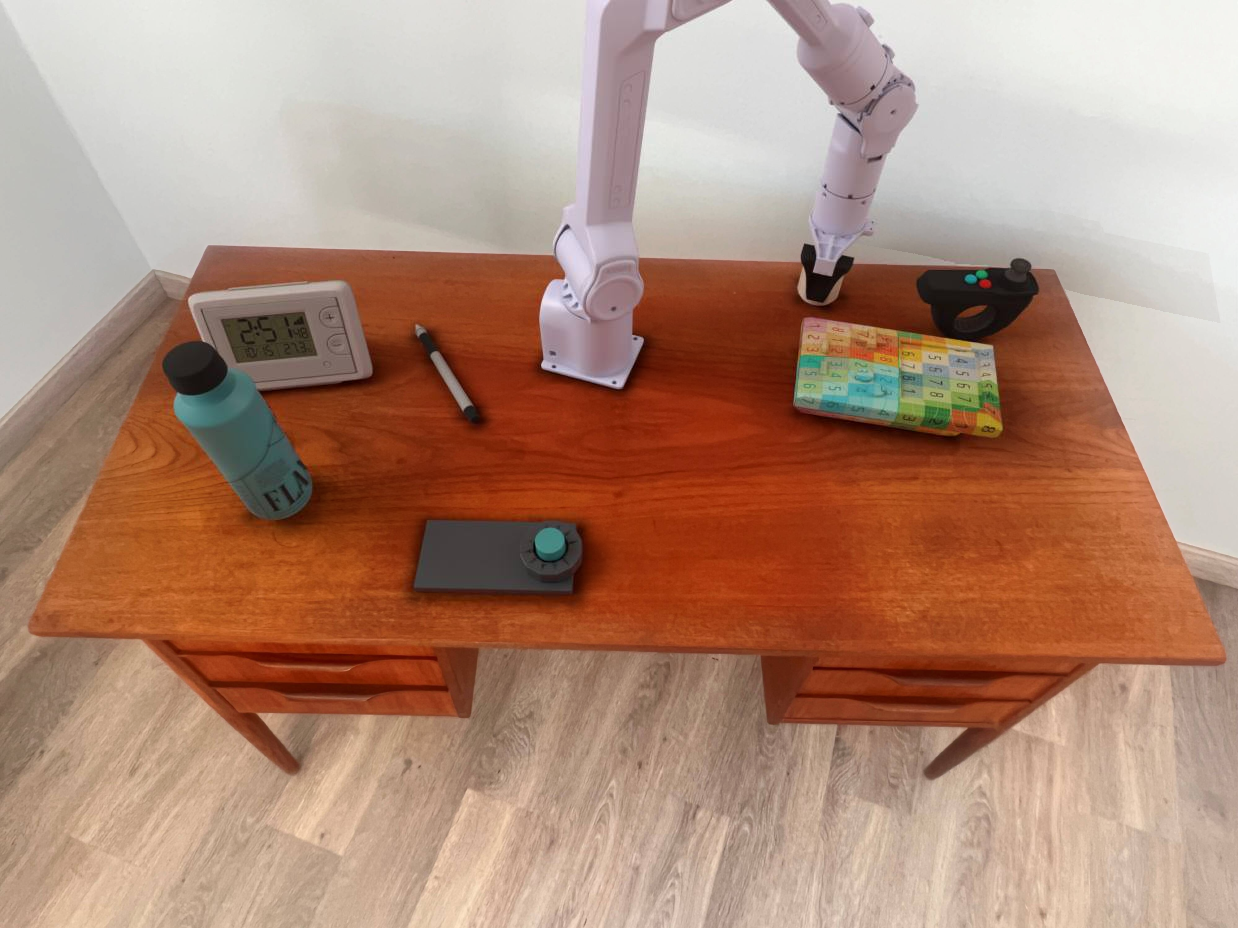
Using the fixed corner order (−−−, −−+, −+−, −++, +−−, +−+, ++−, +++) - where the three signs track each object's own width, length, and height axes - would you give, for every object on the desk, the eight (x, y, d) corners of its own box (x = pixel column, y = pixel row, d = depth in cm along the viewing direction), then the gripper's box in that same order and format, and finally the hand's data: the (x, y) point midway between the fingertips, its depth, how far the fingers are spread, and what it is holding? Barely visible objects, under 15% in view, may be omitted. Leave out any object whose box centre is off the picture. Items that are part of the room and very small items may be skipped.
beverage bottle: (285, 542, 69) (181, 403, 52) (235, 510, 71) (121, 366, 55) (335, 492, 72) (252, 347, 56) (287, 463, 74) (193, 314, 58)
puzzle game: (805, 311, 80) (996, 339, 78) (796, 342, 84) (979, 369, 81) (797, 391, 73) (1007, 424, 71) (788, 421, 77) (987, 453, 75)
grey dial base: (415, 592, 66) (409, 579, 64) (429, 524, 70) (423, 510, 68) (580, 595, 66) (579, 583, 64) (584, 527, 70) (583, 513, 68)
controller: (1012, 347, 83) (1055, 278, 75) (902, 345, 84) (933, 276, 75) (1002, 321, 86) (1042, 251, 78) (895, 319, 86) (924, 249, 78)
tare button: (535, 561, 65) (533, 552, 64) (537, 535, 67) (536, 527, 66) (564, 561, 65) (563, 553, 64) (566, 536, 67) (565, 527, 65)
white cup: (793, 302, 88) (800, 274, 84) (800, 276, 90) (808, 248, 87) (833, 311, 87) (842, 283, 83) (840, 285, 89) (849, 257, 86)
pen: (470, 426, 77) (468, 418, 76) (411, 329, 85) (408, 321, 84) (482, 421, 77) (480, 413, 76) (422, 325, 85) (419, 317, 84)
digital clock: (216, 397, 79) (167, 324, 70) (246, 337, 84) (204, 262, 76) (365, 404, 78) (334, 332, 70) (386, 343, 84) (360, 269, 75)
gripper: (877, 232, 72) (843, 333, 83) (896, 152, 80) (862, 254, 91) (805, 217, 73) (781, 319, 84) (831, 140, 81) (805, 242, 92)
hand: (819, 285), depth 87 cm, fingers closed on white cup, 5 cm apart
